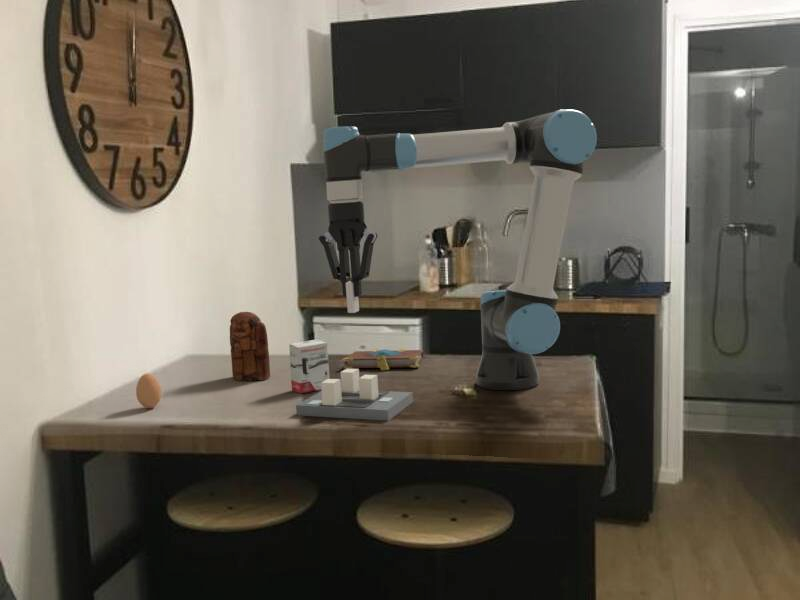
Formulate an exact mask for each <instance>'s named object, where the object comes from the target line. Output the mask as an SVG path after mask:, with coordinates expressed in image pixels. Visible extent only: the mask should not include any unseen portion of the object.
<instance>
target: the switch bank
mask: <svg viewBox="0 0 800 600" xmlns="http://www.w3.org/2000/svg"><path fill="white" fill-rule="evenodd" d="M378 395H379V397H377V398H376V399H360V394H359V391H358V392H342V388H341V396H342V401H341V402H340V403H338V404H336V405H322V391H321V390H320V391H319V392H317V393H315V394H314V395H312V396H310V397H309V398H307V399H305V400H303V401H301V402H298V403H297V404H296V405H295V411H296V416H302V417H307V416H308V417H321V418H322V417H323V418H337V419H354V420H355V419H356V420H371V421H384V422H385V421H390V420H391V419H392V418H394V417H396V416H397V415H398V414H399V413H400V412H402V411H403V410H404V409H406V408H407V407H409V406H410V405H411V404H413V403H414V398H413V397H414V396H413V395H414V393H413V392H412V391H390V390H378Z"/></svg>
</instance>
